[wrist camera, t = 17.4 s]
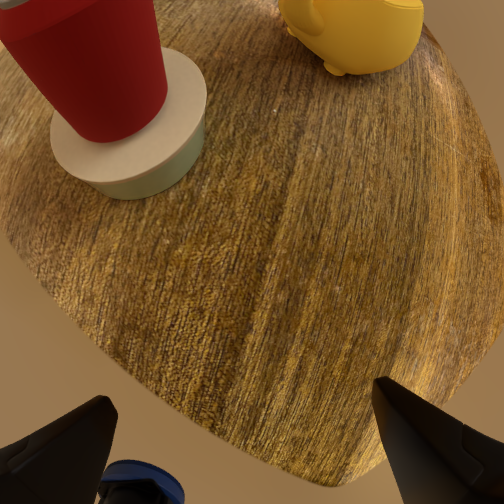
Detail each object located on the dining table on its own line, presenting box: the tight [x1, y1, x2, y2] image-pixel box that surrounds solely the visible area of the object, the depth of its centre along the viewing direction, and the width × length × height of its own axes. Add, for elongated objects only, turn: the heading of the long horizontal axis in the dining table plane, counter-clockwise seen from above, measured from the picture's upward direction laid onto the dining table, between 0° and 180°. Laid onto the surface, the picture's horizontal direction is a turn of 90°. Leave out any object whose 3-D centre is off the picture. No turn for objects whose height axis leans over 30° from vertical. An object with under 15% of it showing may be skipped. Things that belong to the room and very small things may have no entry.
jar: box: [50, 47, 207, 200], centre depth 18 cm, size 11×11×5 cm
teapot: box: [278, 0, 424, 76], centre depth 17 cm, size 13×20×12 cm
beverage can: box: [0, 0, 168, 143], centre depth 9 cm, size 7×7×12 cm
